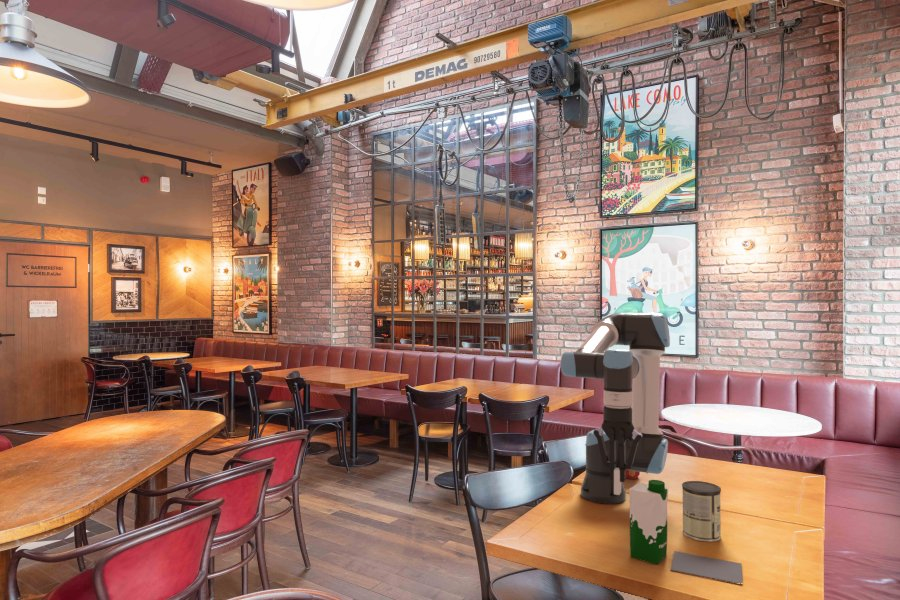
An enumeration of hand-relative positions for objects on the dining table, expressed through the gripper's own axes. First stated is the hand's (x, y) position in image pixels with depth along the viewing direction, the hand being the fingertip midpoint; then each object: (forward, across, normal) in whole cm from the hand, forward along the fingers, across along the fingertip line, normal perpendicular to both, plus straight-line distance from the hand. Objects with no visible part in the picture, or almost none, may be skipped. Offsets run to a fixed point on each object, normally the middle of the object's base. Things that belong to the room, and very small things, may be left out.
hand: (617, 493), depth 150 cm
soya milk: (+16, +8, 0) cm, 18 cm away
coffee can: (+16, +20, +22) cm, 34 cm away
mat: (+15, +22, 0) cm, 27 cm away
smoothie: (+16, -8, +70) cm, 72 cm away
